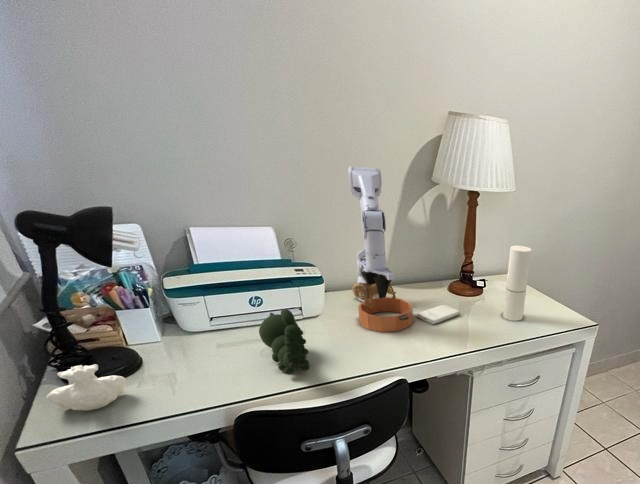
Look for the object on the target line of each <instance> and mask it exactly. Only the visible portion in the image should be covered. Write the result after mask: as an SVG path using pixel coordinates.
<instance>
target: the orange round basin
mask: <svg viewBox="0 0 640 484" xmlns="http://www.w3.org/2000/svg"><path fill="white" fill-rule="evenodd" d="M392 297H393V296H386V297H385V298H383V299H380V298H379V297H376V298H373V305H374V307H373V308H370V307H369V306H370V302H369V300H368V299H367V300H368V305H367V306H364V303H365V301H363V302H362V301H361V302H360V303H359V304H358V305H357V307H358V319H359V324H360V326H362V327H363V328H365V329H367V330H369V331H374V332H381V333H388V332H399V331H401V330H404V329H408V328H409V327H410V325H411V324H412V323H413V321H414V315H413V312H414V311H413V306H412V304H411V302H409V301H407V300H405V299H403V298H399V297H396V298H395V299H392ZM379 312H380V313H381V312H392V313H393V312H394V313H399V314H397V315H396V314H395V315H387V316H386V315H385V316H382V315H381V316H380V315H376V314H374V313H379Z"/></svg>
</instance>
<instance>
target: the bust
mask: <svg viewBox="0 0 640 484" xmlns="http://www.w3.org/2000/svg"><path fill="white" fill-rule="evenodd" d="M98 370H99V365H98V364H96V363H94V364H91V365H83V364H79V365H75V366H74V365H73V366H71V367H70V369H69V368H68V369H66V370H65V371H59V372H57V376H58V377H59V378H60V379H64V380H67V381H68V385H64V386H61V387H57V388H55V389H53V390H51V391H50V392H49V393H48V394H47V395H46V399H47V400H48V401H49V402H50V403H53V404H54V405H56V406H58V407H60V408H62V409H70V410H72V411H93V410H98V409H101V408H104V407H106V406H108V405H109V404H110V403H112V402H114V401H115V400H117V398H118V396H120V395H121V394H123V393H124V392H125V390H126V384H127V380H126V378H125V377H124V376H121V375H108V376H101V377H98V376H96V375H95V373H96V372H97V371H98Z"/></svg>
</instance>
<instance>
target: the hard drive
mask: <svg viewBox="0 0 640 484" xmlns="http://www.w3.org/2000/svg"><path fill="white" fill-rule="evenodd" d="M459 315H460V311H459V310H458V309H455V308H453V307H451V306H448V305H446V304H441V305H437V306H434V307H433V308H429V309H427V310H426V309H425V310H423V311H421V312H418V313H417V314H416V317H417V318H419V319H420V320H422V321H424V322H427V323H429V324H431V325H435V324H438V323H441V322H443V321H446V320H449V319H451V318H454V317H457V316H459Z"/></svg>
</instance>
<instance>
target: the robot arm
mask: <svg viewBox="0 0 640 484" xmlns="http://www.w3.org/2000/svg"><path fill="white" fill-rule="evenodd" d="M347 171H348V182H349V188H350V192H351V195H352V196H353V197H355V198H357V201H358V203H359V208H360V221H361V223H360V224H361V229H362V238H363V240H362V241H363V248H362V249H361V250H360V251H358V252H357V254H356V267H357V275H358V277H357V280H356V283H367V284H370V285H372V284H375V283H376V285H377V289H378V295H375V296H373V298H376V297H379V298H380V299H381V298H385V297H387V294H388V293H387V290H388V287H390V286H389V284H391V283H392V281H393V280H395V273H394V272H393V271H392V270H391V269H389V268H388V262H387V255H386V241H385V240H386V237H385V233H386V230H387V221H386V220H387V219H386V215H385V210H384V209H382V205H381V200H380V196H381V193H382V185H383V184H382V182H383V181H382V171H381V169H380V168H379V167H364V166H363V167H362V166H352V165H349V166H348V168H347ZM356 299H357V300H358V301H361V303H362V302H363V301H364V300H361V299H358V298H356Z"/></svg>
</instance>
